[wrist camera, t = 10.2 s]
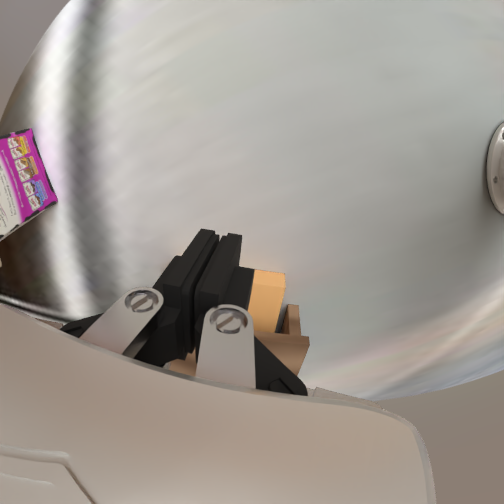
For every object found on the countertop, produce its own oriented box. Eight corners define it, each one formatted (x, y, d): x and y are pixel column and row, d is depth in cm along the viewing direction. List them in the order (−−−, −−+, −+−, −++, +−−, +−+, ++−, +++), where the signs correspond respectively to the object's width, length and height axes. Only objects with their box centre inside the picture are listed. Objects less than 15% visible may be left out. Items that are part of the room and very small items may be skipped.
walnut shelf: (153, 282, 31) (133, 316, 25) (305, 306, 31) (309, 345, 25) (161, 346, 36) (148, 379, 31) (285, 366, 36) (285, 402, 31)
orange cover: (175, 257, 29) (167, 269, 27) (284, 273, 29) (285, 287, 27) (179, 343, 36) (174, 357, 33) (264, 357, 35) (264, 372, 33)
